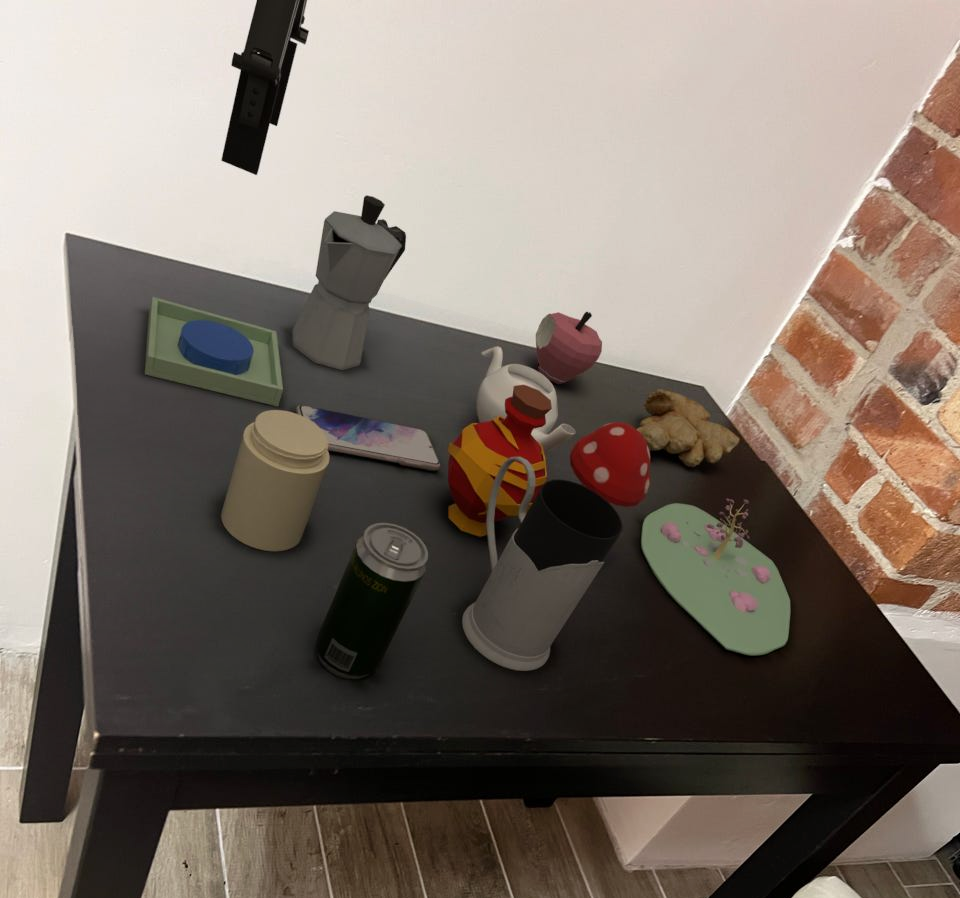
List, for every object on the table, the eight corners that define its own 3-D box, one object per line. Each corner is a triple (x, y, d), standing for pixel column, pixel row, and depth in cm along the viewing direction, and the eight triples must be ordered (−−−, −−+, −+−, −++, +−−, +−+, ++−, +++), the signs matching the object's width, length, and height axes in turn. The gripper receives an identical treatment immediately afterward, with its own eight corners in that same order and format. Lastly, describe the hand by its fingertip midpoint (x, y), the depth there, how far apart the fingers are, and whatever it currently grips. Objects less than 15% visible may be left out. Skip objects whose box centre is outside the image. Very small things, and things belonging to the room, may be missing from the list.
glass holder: (493, 677, 78) (572, 547, 69) (417, 564, 85) (480, 433, 76) (566, 663, 84) (648, 541, 74) (489, 559, 90) (556, 435, 81)
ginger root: (707, 424, 136) (738, 385, 130) (716, 502, 127) (750, 465, 121) (614, 390, 132) (641, 348, 125) (616, 469, 123) (646, 428, 117)
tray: (144, 374, 89) (148, 355, 88) (148, 314, 97) (152, 296, 96) (278, 407, 94) (283, 389, 93) (271, 347, 102) (276, 331, 101)
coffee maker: (319, 379, 102) (370, 224, 91) (262, 336, 103) (305, 179, 92) (395, 357, 113) (448, 217, 102) (342, 318, 115) (389, 176, 104)
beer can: (368, 692, 71) (422, 581, 64) (304, 664, 70) (351, 549, 63) (385, 649, 75) (437, 541, 68) (324, 623, 74) (371, 510, 67)
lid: (254, 351, 99) (258, 336, 98) (244, 383, 94) (248, 368, 93) (185, 327, 97) (189, 311, 96) (171, 358, 92) (174, 343, 90)
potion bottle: (410, 483, 94) (465, 357, 85) (493, 492, 100) (554, 374, 91) (445, 552, 88) (509, 424, 79) (531, 557, 94) (600, 438, 85)
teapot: (494, 400, 116) (525, 336, 110) (567, 502, 105) (605, 436, 99) (430, 392, 110) (459, 323, 105) (500, 498, 99) (536, 428, 94)
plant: (834, 672, 102) (888, 616, 97) (688, 648, 94) (737, 585, 88) (746, 530, 119) (788, 476, 113) (614, 499, 110) (652, 438, 105)
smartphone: (296, 402, 95) (426, 429, 102) (293, 410, 95) (424, 436, 102) (306, 441, 90) (442, 466, 97) (304, 449, 91) (439, 473, 98)
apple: (519, 351, 130) (549, 287, 124) (572, 370, 133) (604, 308, 127) (528, 385, 123) (561, 319, 117) (584, 404, 126) (619, 341, 120)
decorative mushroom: (523, 507, 100) (586, 391, 91) (591, 527, 103) (659, 417, 94) (535, 564, 93) (604, 445, 84) (608, 585, 96) (683, 472, 87)
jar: (221, 543, 76) (249, 447, 70) (220, 490, 81) (245, 396, 75) (305, 557, 79) (338, 467, 73) (299, 506, 84) (330, 417, 78)
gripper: (290, -212, 69) (228, 83, 82) (245, -209, 51) (175, 169, 64) (384, -160, 71) (309, 119, 84) (373, -140, 53) (279, 211, 66)
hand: (251, 141), depth 74 cm, fingers open, 13 cm apart
